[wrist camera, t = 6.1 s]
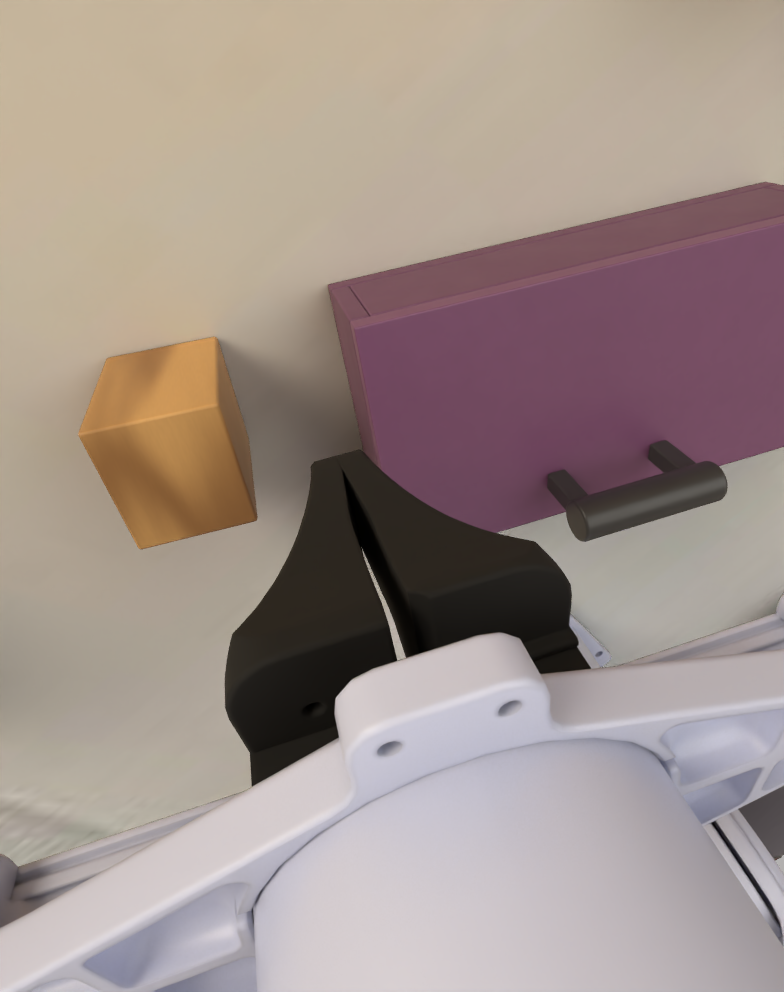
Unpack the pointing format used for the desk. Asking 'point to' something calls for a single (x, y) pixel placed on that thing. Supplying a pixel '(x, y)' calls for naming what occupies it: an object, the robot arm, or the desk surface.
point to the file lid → (585, 385)
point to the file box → (535, 264)
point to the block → (171, 443)
